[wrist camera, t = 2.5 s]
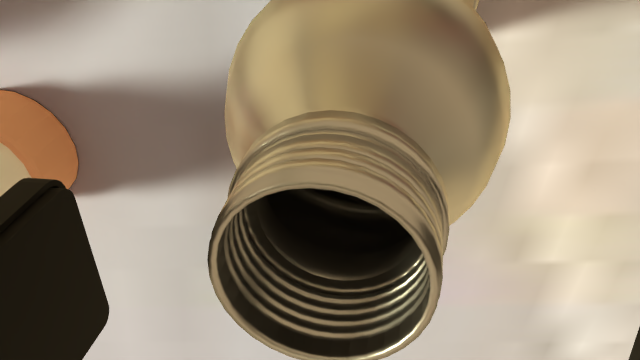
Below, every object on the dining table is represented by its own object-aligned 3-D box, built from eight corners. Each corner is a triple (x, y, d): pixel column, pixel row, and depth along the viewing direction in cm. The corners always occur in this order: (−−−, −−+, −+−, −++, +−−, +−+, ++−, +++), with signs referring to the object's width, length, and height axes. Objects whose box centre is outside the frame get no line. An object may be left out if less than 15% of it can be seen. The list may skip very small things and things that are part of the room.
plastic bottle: (320, 31, 28) (132, 380, 11) (338, -131, 24) (91, 30, 7) (459, 53, 27) (478, 459, 10) (499, -109, 23) (631, 123, 7)
